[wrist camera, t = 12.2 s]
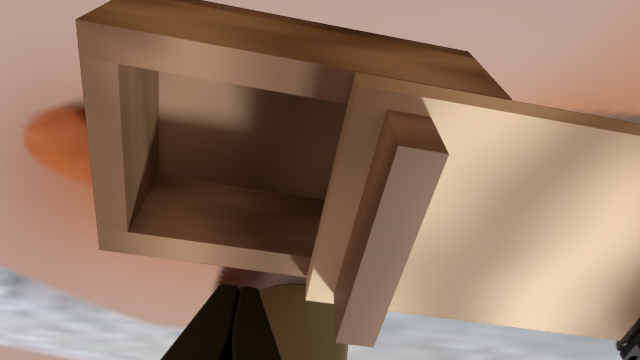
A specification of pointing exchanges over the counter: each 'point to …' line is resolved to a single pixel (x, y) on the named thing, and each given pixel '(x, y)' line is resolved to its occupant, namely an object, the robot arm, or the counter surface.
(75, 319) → the counter surface
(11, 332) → the counter surface
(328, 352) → the brown bottle
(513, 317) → the lid
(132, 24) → the toolbox
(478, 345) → the counter surface
